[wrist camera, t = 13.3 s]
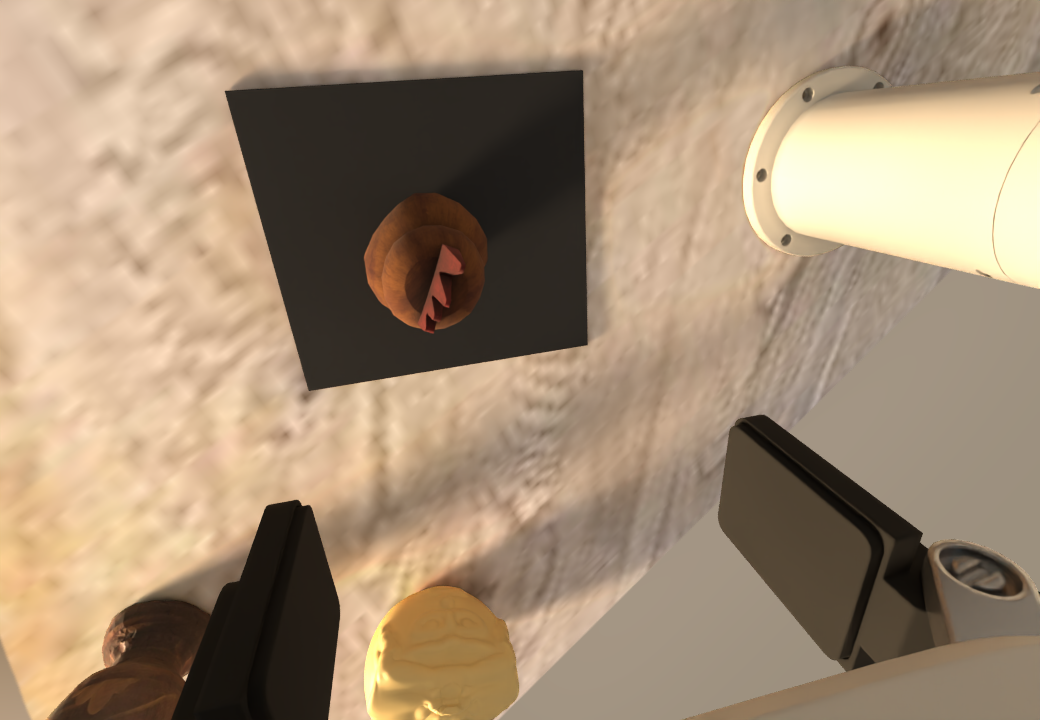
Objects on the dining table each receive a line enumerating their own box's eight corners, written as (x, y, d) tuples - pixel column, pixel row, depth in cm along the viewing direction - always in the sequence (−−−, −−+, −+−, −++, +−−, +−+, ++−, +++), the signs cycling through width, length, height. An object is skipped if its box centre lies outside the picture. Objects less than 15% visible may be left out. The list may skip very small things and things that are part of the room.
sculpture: (507, 563, 45) (540, 678, 35) (483, 658, 49) (506, 785, 39) (374, 565, 41) (370, 693, 32) (360, 667, 45) (352, 809, 36)
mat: (581, 70, 30) (583, 70, 30) (586, 344, 38) (587, 345, 38) (225, 91, 27) (224, 91, 27) (309, 389, 34) (308, 391, 34)
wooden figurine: (420, 167, 30) (444, 188, 17) (490, 231, 33) (560, 295, 19) (350, 252, 31) (320, 337, 18) (423, 309, 34) (446, 420, 20)
